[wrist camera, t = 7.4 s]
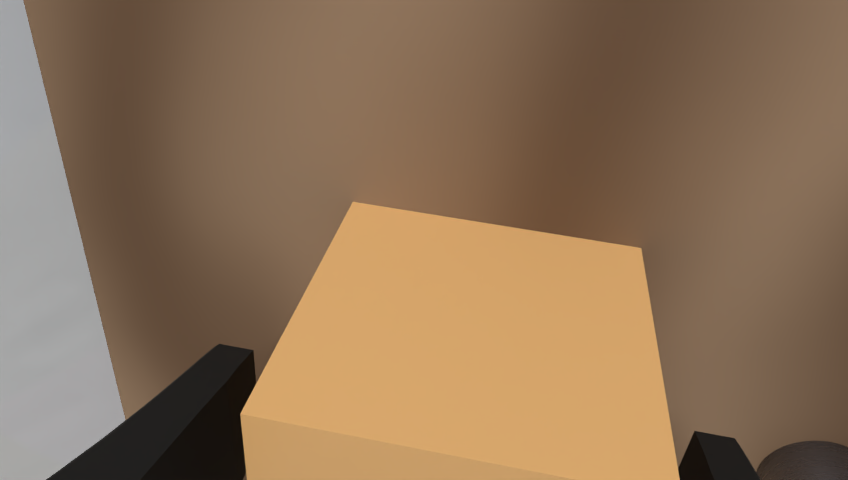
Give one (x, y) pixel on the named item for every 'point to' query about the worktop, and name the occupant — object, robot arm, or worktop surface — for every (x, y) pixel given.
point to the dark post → (806, 462)
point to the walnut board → (470, 170)
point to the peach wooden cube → (463, 360)
